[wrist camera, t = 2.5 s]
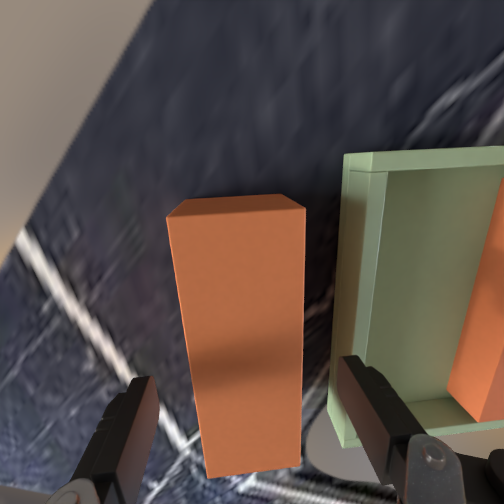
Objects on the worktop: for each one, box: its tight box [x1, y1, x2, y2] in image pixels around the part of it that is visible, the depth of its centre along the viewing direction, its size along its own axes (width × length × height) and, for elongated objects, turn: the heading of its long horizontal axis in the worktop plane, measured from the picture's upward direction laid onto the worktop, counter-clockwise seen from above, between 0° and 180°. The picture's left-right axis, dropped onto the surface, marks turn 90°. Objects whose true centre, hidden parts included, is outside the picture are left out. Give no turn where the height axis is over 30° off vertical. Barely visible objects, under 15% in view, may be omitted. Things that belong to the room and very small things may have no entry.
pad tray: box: [327, 145, 504, 448], centre depth 15 cm, size 18×15×3 cm
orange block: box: [166, 194, 306, 478], centre depth 14 cm, size 14×5×4 cm, turn 3°
